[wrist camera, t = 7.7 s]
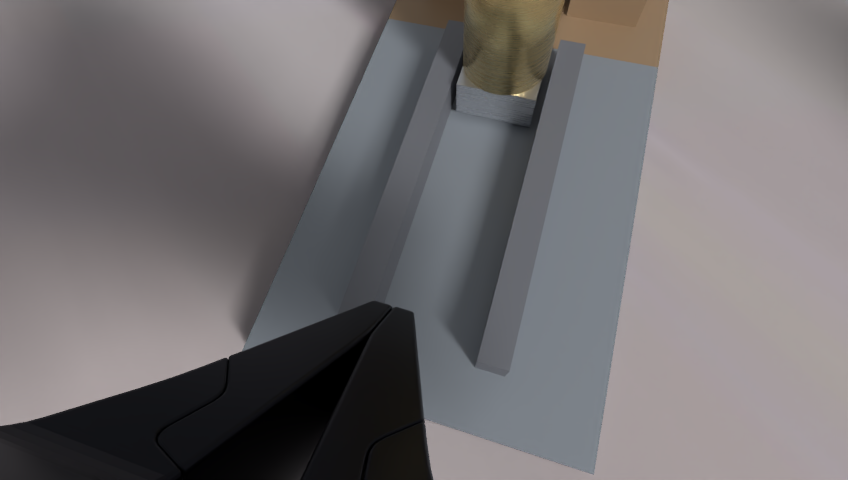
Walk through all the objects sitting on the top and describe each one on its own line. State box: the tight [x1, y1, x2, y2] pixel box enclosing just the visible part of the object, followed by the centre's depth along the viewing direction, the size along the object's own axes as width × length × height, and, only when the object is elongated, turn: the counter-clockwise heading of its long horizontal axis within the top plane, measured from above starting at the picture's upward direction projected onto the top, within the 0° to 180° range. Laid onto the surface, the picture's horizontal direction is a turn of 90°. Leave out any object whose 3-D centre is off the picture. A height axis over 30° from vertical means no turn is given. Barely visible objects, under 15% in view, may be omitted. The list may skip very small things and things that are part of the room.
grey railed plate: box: [242, 0, 669, 475], centre depth 18 cm, size 21×12×5 cm, turn 163°
